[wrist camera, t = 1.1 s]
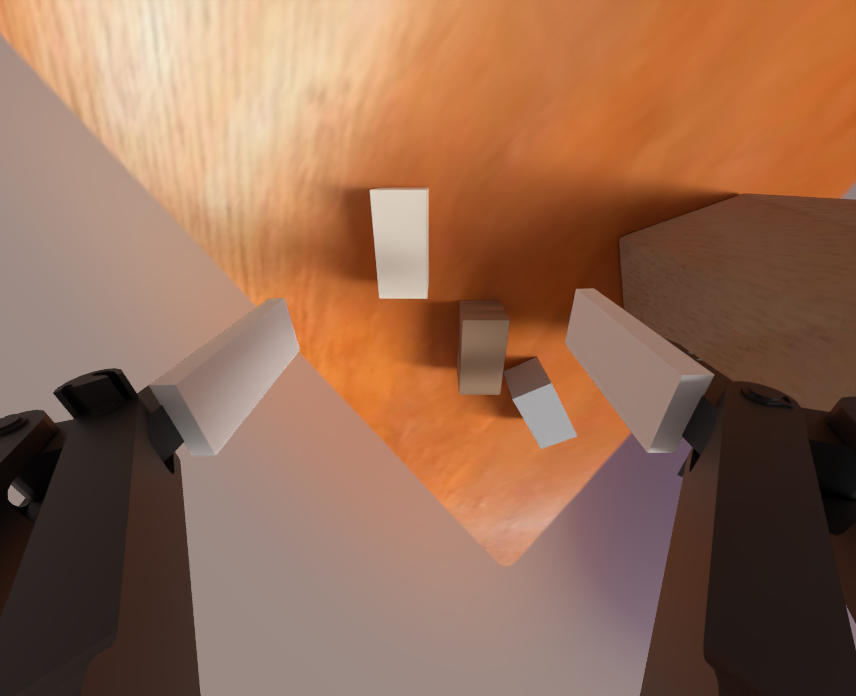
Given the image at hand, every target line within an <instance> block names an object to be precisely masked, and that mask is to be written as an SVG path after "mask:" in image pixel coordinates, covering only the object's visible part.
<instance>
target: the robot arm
mask: <svg viewBox="0 0 856 696" xmlns="http://www.w3.org/2000/svg"><path fill="white" fill-rule="evenodd" d="M565 345H566V346H567V347H568V349H569V350H570V351H571V353H572V354H573V355H574V357H575V358H576V359H577V361H578V362H579V363H580V364H581V366H582V367H583V368H584V370H585V371H586V372H587V374H588V375H589V376H590V378H591V379H592V380H593V382H594V383H595V384H596V386H597V387H598V388H599V390H600V391H601V392H602V393H603V395H604V396H605V397H606V399H607V400H608V401H609V403H610V404H611V405H612V407H613V408H614V409H615V411H616V412H617V413H618V415H619V416H620V417H621V419H622V420H623V421H624V422H625V424H626V425H627V426H628V428H629V429H630V430H631V432H632V433H633V434H634V436H635V437H636V438H637V440H638V441H639V442H640V443H641V445H642V446H643V448H644V449H645V450H646V451H647V453H674V452H675V451H676V448H677V447H678V445H679V443H680V441H681V439H682V437H683V438H684V439H685V440H686V441H687V442H688V443H689V444H690V445H691V446H692V449H691V451H690V453H689V455H688V457H687V459H686V460H685V462H684V464H683V466H682V468H681V469H680V471H679V473H678V475H679V476H681V477H683V481H682V486H681V491H680V496H679V501H678V507H677V512H676V517H675V522H674V527H673V532H672V537H671V542H670V547H669V552H668V557H667V562H666V568H665V572H664V577H663V582H662V588H661V592H660V597H659V602H658V607H657V613H656V618H655V623H654V628H653V633H652V638H651V643H650V648H649V653H648V658H647V663H646V668H645V673H644V678H643V683H642V689H641V693H640V696H856V649H855V644H854V640H853V636H852V632H851V627H850V622H849V618H848V613H847V609H846V606H847V608H848V610H849V612H850V613H851V615H852V617H853V619H854V621H855V623H856V397H853V396H851V397H842V398H841V399H840V400H839V401H838V402H837V403H836V405H835V406H834V407H833V408H832V410H831V411H830V412H827V411H821V410H814V409H808V408H802V407H800V405H799V404H798V402H797V401H795V400H794V399H793V398H791V397H790V396H788V395H787V394H785V393H783V392H780V391H778V390H776V389H774V388H771V387H768V386H765V385H762V384H757V383H752V382H747V381H734V382H733V381H732V380H730V379H729V378H727V377H726V376H725V375H723V374H722V373H720V372H719V371H717V370H716V369H714V368H713V367H712V366H710V365H709V364H707V363H706V362H704V361H701V359H700V358H699V357H697V356H696V355H694V354H691V352H690V351H689V350H687V349H686V348H684V347H683V346H681V345H680V344H678V343H676V342H673V341H671V340H669V339H666V338H664V337H661V336H660V335H658V334H657V333H656V332H654V331H653V330H651V329H650V328H649V327H647V326H646V325H644V324H643V323H642V322H640V321H639V320H637V319H636V318H635V317H633V316H632V315H631V314H629V313H628V312H626V311H625V310H624V309H622V308H621V307H619V306H618V305H617V304H615V303H614V302H612V301H611V300H610V299H608V298H607V297H605V296H604V295H603V294H601V293H600V292H598V291H597V290H596V289H594V288H588V289H576V292H575V297H574V302H573V306H572V311H571V316H570V321H569V326H568V331H567V336H566V341H565ZM299 351H300V349H299V345H298V342H297V338H296V335H295V331H294V328H293V325H292V321H291V318H290V314H289V311H288V307H287V304H286V301H285V298H275V299H267V300H266V301H265V302H263V303H262V304H261V305H259V306H258V307H256V308H255V309H254V310H252V311H251V312H249V313H248V314H247V315H245V316H244V317H243V318H241V319H240V320H238V321H237V322H236V323H234V324H233V325H232V326H230V327H229V328H227V329H226V330H224V331H223V332H222V333H220V334H219V335H218V336H216V337H215V338H213V339H212V340H211V341H209V342H208V343H206V344H205V345H204V346H202V347H201V348H199V349H198V350H197V351H195V352H194V353H193V354H191V355H190V356H188V357H187V358H186V359H184V360H183V361H181V362H180V363H179V364H177V365H176V366H174V367H173V368H172V369H170V370H169V371H167V372H166V373H165V374H163V375H162V376H161V377H159V378H158V379H156V380H155V381H154V382H152V383H151V384H149V385H148V386H147V387H146V388H144V389H143V390H141V391H140V392H139V393H136V392H135V390H134V388H133V387H132V385H131V384H130V382H129V381H128V379H127V378H126V376H125V375H124V373H123V372H122V370H121V369H115V368H114V369H104V370H99V371H95V372H91V373H89V374H85V375H82V376H79V377H77V378H75V379H73V380H70V381H68V382H66V383H65V384H64V385H62V386H60V387H58V388H57V389H56V390H55V391H54V392H53V394H54V395H55V396H56V397H57V398H58V400H59V401H60V402H61V403H62V404H63V406H64V407H65V408H66V409H67V410H68V412H69V413H70V414H71V415H72V417H73V418H74V419H73V420H68V421H63V422H58V423H54V422H53V421H52V419H51V418H50V417H49V416H48V415H47V414H46V413H45V412H44V411H43V410H32V411H26V412H22V413H19V414H12V415H9V416H6V417H4V418H1V419H0V696H201V695H200V685H199V674H198V662H197V651H196V640H195V627H194V616H193V604H192V593H191V581H190V570H189V557H188V547H187V534H186V523H185V511H184V499H183V488H182V476H181V465H180V459H179V457H178V456H177V454H176V453H175V451H176V450H177V449H178V448H179V446H181V444H182V443H183V442H184V443H185V445H186V446H187V448H188V450H189V451H190V453H191V455H192V456H216V454H218V452H219V451H220V450H221V448H222V447H223V446H224V445H225V443H226V442H227V441H228V440H229V438H230V437H231V436H232V435H233V433H234V432H235V431H236V430H237V428H238V427H239V426H240V425H241V423H242V422H243V421H244V420H245V418H246V417H247V416H248V415H249V413H250V412H251V411H252V410H253V408H254V407H255V406H256V405H257V403H258V402H259V401H260V399H261V398H262V397H263V396H264V394H265V393H266V392H267V391H268V390H269V388H270V387H271V386H272V384H273V383H274V382H275V381H276V379H277V378H278V377H279V376H280V374H281V373H282V372H283V371H284V369H285V368H286V367H287V366H288V364H289V363H290V362H291V361H292V359H293V358H294V357H295V356H296V354H297V353H298V352H299ZM683 475H684V476H683ZM10 485H12V486H13V487H14V488H15V489H16V490H18V492H20V493H21V494H22V495H23V496H24V497H25V499H24V501H23V502H22V503H21V504H20V505H19V506H18V507H17V506H15V505H13V504H12V503H10V502H9V500H8V489H9V487H10Z"/></svg>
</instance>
